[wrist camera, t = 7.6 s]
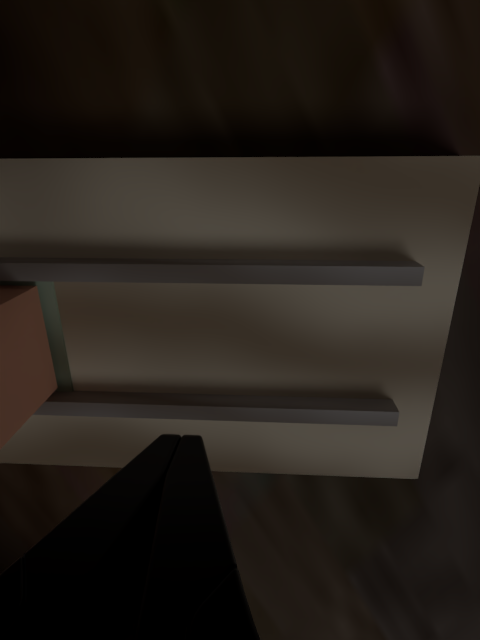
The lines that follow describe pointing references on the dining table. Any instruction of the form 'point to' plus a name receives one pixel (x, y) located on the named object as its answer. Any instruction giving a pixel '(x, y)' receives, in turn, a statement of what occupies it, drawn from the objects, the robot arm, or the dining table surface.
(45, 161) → the track board
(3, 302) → the terracotta cardboard box
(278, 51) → the dining table surface
